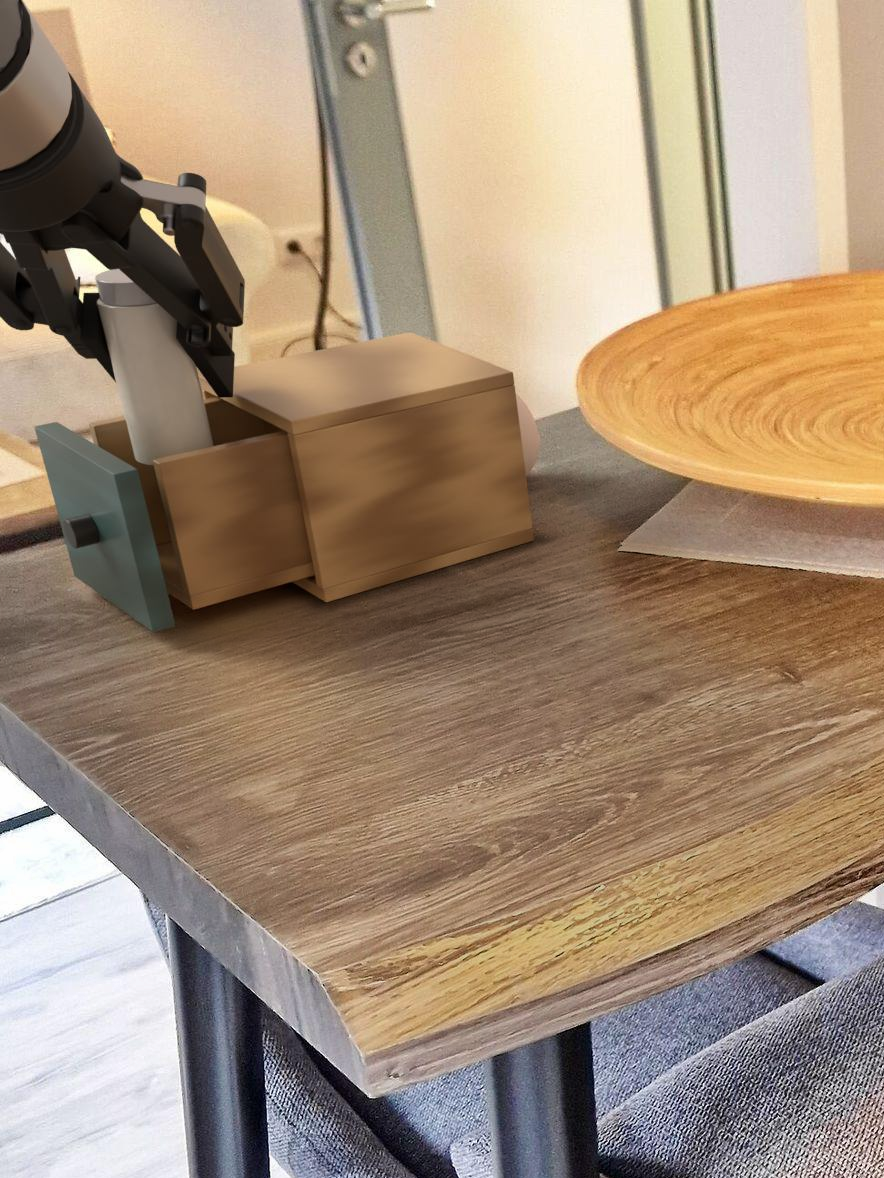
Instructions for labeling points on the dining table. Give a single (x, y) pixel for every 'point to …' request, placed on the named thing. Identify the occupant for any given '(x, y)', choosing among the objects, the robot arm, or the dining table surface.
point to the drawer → (179, 514)
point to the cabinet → (394, 456)
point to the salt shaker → (151, 372)
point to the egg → (528, 435)
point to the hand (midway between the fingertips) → (182, 375)
